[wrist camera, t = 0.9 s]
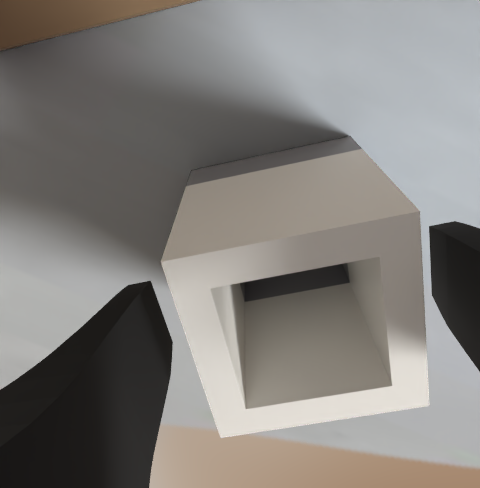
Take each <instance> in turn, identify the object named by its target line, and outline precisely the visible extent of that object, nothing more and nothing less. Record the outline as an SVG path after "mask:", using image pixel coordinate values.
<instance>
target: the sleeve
mask: <svg viewBox="0 0 480 488" xmlns="http://www.w3.org/2000/svg"><path fill="white" fill-rule="evenodd" d="M161 265H162V267H163V270H164V273H165V276H166V279H167V282H168V285H169V288H170V291H171V294H172V297H173V300H174V303H175V306H176V309H177V312H178V314H179V317H180V320H181V323H182V326H183V329H184V332H185V335H186V338H187V341H188V344H189V347H190V350H191V353H192V356H193V359H194V361H195V364H196V367H197V370H198V373H199V376H200V379H201V382H202V385H203V388H204V391H205V394H206V397H207V400H208V403H209V406H210V408H211V411H212V414H213V417H214V420H215V423H216V426H217V429H218V432H219V435H220V438H224V437H230V436H237V435H243V434H250V433H256V432H263V431H269V430H276V429H282V428H289V427H295V426H302V425H308V424H315V423H321V422H328V421H334V420H341V419H347V418H354V417H360V416H367V415H373V414H380V413H386V412H393V411H399V410H406V409H412V408H419V407H425V406H429V388H428V368H427V348H426V328H425V307H424V287H423V267H422V247H421V226H420V211H419V210H418V209H417V208H416V207H415V205H414V204H413V203H412V202H411V201H410V200H409V199H408V198H407V197H406V196H405V195H404V194H403V193H402V191H401V190H400V189H399V188H398V187H397V186H396V185H395V184H394V183H393V182H392V181H391V180H390V178H389V177H388V176H387V175H386V174H385V173H384V172H383V171H382V170H381V169H380V168H379V167H378V166H377V164H376V163H375V162H374V161H373V160H372V159H371V158H370V157H369V156H368V155H367V154H366V153H365V151H364V150H363V149H362V148H361V147H360V146H359V145H358V144H357V143H356V142H355V141H354V140H353V138H352V137H351V136H349V137H344V138H339V139H335V140H330V141H326V142H321V143H316V144H312V145H307V146H302V147H298V148H293V149H288V150H284V151H279V152H275V153H270V154H265V155H261V156H256V157H251V158H247V159H242V160H237V161H233V162H228V163H224V164H219V165H214V166H210V167H205V168H200V169H196V170H191V173H190V176H189V179H188V182H187V185H186V188H185V191H184V194H183V197H182V200H181V203H180V206H179V209H178V212H177V215H176V218H175V221H174V224H173V227H172V230H171V233H170V236H169V239H168V242H167V244H166V247H165V250H164V253H163V256H162V259H161Z"/></svg>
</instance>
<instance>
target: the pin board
mask: <svg viewBox="0 0 480 488" xmlns="http://www.w3.org/2000/svg"><path fill="white" fill-rule="evenodd" d="M196 1H200V0H0V51H3V50H7V49H11V48H15V47H19V46H23V45H27V44H31V43H35V42H39V41H42V40H46V39H50V38H54V37H58V36H62V35H66V34H70V33H74V32H78V31H82V30H86V29H90V28H94V27H98V26H102V25H106V24H109V23H113V22H117V21H121V20H125V19H129V18H133V17H137V16H141V15H145V14H149V13H153V12H157V11H161V10H165V9H169V8H173V7H176V6H180V5H184V4H188V3H192V2H196Z"/></svg>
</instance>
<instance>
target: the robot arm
mask: <svg viewBox="0 0 480 488" xmlns="http://www.w3.org/2000/svg"><path fill="white" fill-rule="evenodd" d="M429 233H430V257H431V282H432V296H433V298H434V300H435V302H436V304H437V306H438V308H439V310H440V312H441V314H442V316H443V318H444V320H445V322H446V324H447V326H448V327H449V329H450V330H451V332H452V333H453V335H454V336H455V337H456V339H457V340H458V342H459V343H460V345H461V346H462V347H463V349H464V350H465V352H466V353H467V354H468V356H469V357H470V359H471V360H472V361H473V363H474V364H475V366H476V367H477V368H478V370H479V371H480V229H479V228H476V227H473V226H470V225H467V224H463V223H459V222H455V221H454V222H449V223H444V224H439V225H434V226H429ZM172 344H173V342H172V339H171V336H170V334H169V331H168V328H167V325H166V322H165V320H164V317H163V314H162V311H161V308H160V306H159V303H158V300H157V297H156V294H155V292H154V289H153V286H152V283H151V281H147V282H142V283H137V284H132V285H128V286H127V287H125V288H124V289H123V290H121V291H120V292H119V293H118V294H117V295H116V296H115V297H113V298H112V299H111V300H110V301H109V302H108V303H107V304H106V305H105V306H104V307H103V308H102V309H101V310H99V311H98V312H97V313H96V314H95V315H94V316H93V317H92V318H91V319H90V320H89V321H88V322H87V323H86V324H84V325H83V326H82V327H81V328H80V329H79V330H78V331H77V332H75V333H74V334H73V335H72V336H71V337H70V338H68V339H67V340H66V341H65V342H64V343H63V344H61V345H60V346H59V347H58V348H57V349H56V350H54V351H53V352H52V353H51V354H50V355H48V356H47V357H46V358H45V359H43V360H42V361H41V362H39V363H38V364H37V365H36V366H34V367H33V368H31V369H30V370H29V371H27V372H26V373H25V374H23V375H22V376H20V377H19V378H18V379H16V380H15V381H13V382H12V383H10V384H9V385H7V386H6V387H4V388H3V389H1V390H0V488H149V483H150V473H151V466H152V461H153V455H154V450H155V444H156V440H157V436H158V431H159V427H160V422H161V418H162V413H163V408H164V404H165V399H166V394H167V390H168V385H169V380H170V374H171V362H172Z"/></svg>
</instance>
